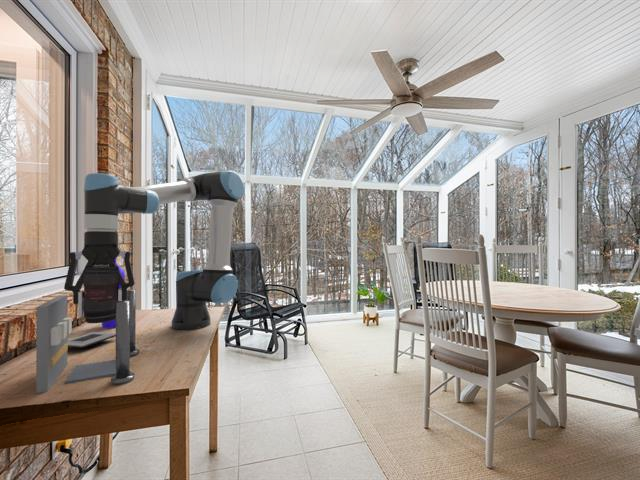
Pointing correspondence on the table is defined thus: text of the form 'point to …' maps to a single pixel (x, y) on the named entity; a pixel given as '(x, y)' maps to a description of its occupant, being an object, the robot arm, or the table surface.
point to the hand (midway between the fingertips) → (101, 313)
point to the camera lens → (100, 293)
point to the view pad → (92, 371)
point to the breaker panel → (51, 341)
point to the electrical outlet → (89, 339)
